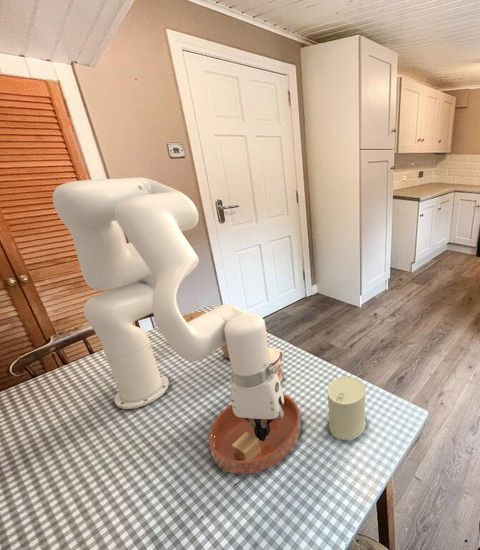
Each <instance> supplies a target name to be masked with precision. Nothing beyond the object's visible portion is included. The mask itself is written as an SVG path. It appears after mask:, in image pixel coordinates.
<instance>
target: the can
mask: <svg viewBox="0 0 480 550" xmlns="http://www.w3.org/2000/svg"><path fill="white" fill-rule="evenodd" d="M366 392H367V391H366V386H365V384H364V382H363V381H362V380H361V379H358V378H356V377H353V376H342V377H339V378H336V379H334V380H333V381H332V382H331V383H329V385H328V386H327V390H326V393H327V402H328V403H327V404H328V405H327V406H328V423H329V424H328V427H329V431H330V433H331V434H332V436H333V437H335V438H336V439H339V440H343V441H350V440H354V439H356V438H358V437H359V436H361V435H362V434H363V432H364V431H365V429H366V425H367V423H366Z"/></svg>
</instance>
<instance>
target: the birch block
mask: <svg viewBox="0 0 480 550" xmlns="http://www.w3.org/2000/svg"><path fill="white" fill-rule="evenodd" d="M232 448H233V453H234V457H235V458H236V459H237V460H251V459H254V458H255V457H256V456H257V455H258V454H259V453H260V452H261V449H260V443H259V439H258V438H256V437H255V436H253V435H251V434H250V433H248V432H245V433H244V434H243V435H242V436H241V437H240V438H239V439H238V440H237V441H236V442H235V443H233V444H232Z"/></svg>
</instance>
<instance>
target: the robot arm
mask: <svg viewBox="0 0 480 550" xmlns="http://www.w3.org/2000/svg"><path fill="white" fill-rule="evenodd" d="M52 204H53V207H54V210H55V212H56V215H57V216H58V217H59V219H60V221H61V222H62V223H63V224H64V226H65V228H66V229H67V230H68V232H69V233H70V236H71V239H72V240H73V245H74V248H75V249H74V250H75V252H76V256H77V260H78V264H79V267H80V271H81V274H82V276H83V280H84V281H85V283H86V284H87V286H88V287H89V288H90V289H92V290H95V291H100V293H98V294H96V295H94V296H92V297H90V298H89V299H88V300H87V301H86V302H85V303H84V305H83V307H82V308H83V309H82V311H83V315H84V317H85V319H86V321H87V323H88V324H89V325H90V327H91V328H92V329H93V331H94V333H95V334H96V336H97V339H98V340H99V343H100V345H101V347H102V350H103V353H104V355H105V358H106V360H107V363H108V366H109V368H110V371H111V374H112V376H113V379H114V382H115V384H116V387H117V390H118V391H117V392H116V394H115V396H114V403H115V405H116V407H118V408H119V409H123V410H133V409H138V408H141V407H144V406H147V405H150V404H151V403H153V402H155V401H157V400H158V399H159V398H161V397H162V396H163V395H164V394H165V393H166V392H167V390H168V389H169V387H170V381H169V378H168V377H167V376H166V375H163V374H160V371H159V367H158V364H157V360H156V357H155V354H154V351H153V347H152V344H151V342H150V338H149V335H148V333H147V331H146V330H144V329H143V328H141V327H139V326H137V325H134V323H135V322H137V321H139V320H140V319H142V318H145V317H147V316H149V315H151V314H153V319H154V322H155V324H156V326H157V328H158V330H159V332H160V333H161V334H162V336H163V338H164V339H165V340H166V342H167V344H169V346H170V347H171V349H172V350H173V351H174V352H175V353H176V354H177V355H178V356H179V357H180V358H182V359H183V360H184V361H187V362H198V361H201V360H203V359H205V358H207V357H209V356H210V355H211V354H213V353H214V352H216V351H217V350H219V349H220V348H222V346H223V345H225V344H226V343H227V348H228V353H229V358H230V359H229V358H228V359H229V363H230V367H231V373H232V377H231V381H230V401H231V404H232V409H233V412H234V414H235V416H236V417H240V418H244V419H245V420H247V421H248V422H249V423H250V425H251V427H253V428H254V433H255V435H256V438H258V439H259V441H260V440H261V441H265V438H266V436H267V435H269V433H270V425H269V423H271V422H272V421H273V420H280V419H282V418H283V415H284V412H283V410H282V408H281V406H283V404H284V397H283V394H284V393H283V387H282V384H281V382H280V381H279V378H278V376H277V371H278V368H277V367H274V366H272V363H271V361H270V355H269V348H268V347H269V342H268V333H267V326H266V321H265V320H264V318H263V317H262V316H261V315H260V314H256V313H250V312H247V311H245V310H243V309H241V308H239V307H238V306H236V305H234V304H230V303H223V304H221V305H218V306H216V307H214V308H212V309H211V310H209V311H207V312H205V313H204V314H203V315H201V316H199V317H197V318H195V319H193V320H191V321H189V322H186V321H185V320H184V318H183V317H182V316H183V315H182V314H181V312H180V309H179V307H178V302H177V294H178V289H179V287H180V285H181V283H182V282H183V281H184V279H186V278H187V277H188V275H189V274H190V273H192V272H193V271H194V270H195V269H196V268H197V266H198V264H199V263H200V262H199V261H200V259H199V256H198V254H197V253H196V252H195V250H194V248H193V246H192V245H191V244H190V243H189V241H188V240H187V238H186V236H185V235H184V234H183V232H185V231H189V230H192V229H194V228H195V227H197V225H198V223H199V218H200V215H199V211H198V209H197V206H196V205H195V203H194V201H192V200H191V198H189V197H188V196H187V195H186V194H185V193H184V192H182V191H179V190H178V189H175V188H173V187H171V186H168V185H166V184H163V183H160V182H159V181H156V180H154V179H150V178H148V177H122V178H121V177H120V178H100V179H99V178H98V179H83V180H74V181H69V182H65V183H62V184H59V185H58V186H57V187H55V189H54V191H53V193H52ZM115 222H117V224H118V225H117V224H116V223H115ZM122 231H123V233H124V234H125V236H126V238H127V239H128V240H129V242H128V243H124V236H123V233H122ZM101 291H102V292H101Z"/></svg>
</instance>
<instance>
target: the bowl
mask: <svg viewBox="0 0 480 550" xmlns="http://www.w3.org/2000/svg"><path fill="white" fill-rule="evenodd" d="M283 397H284V404H283V406H281V408H282V410H283V412H284V415H283V418H282V419H280V420H273V421H272V422H271V423H269V425H270V433H269V435H267V436H266V438H265V441H261V440H260V441H259V443H260V449H261V452H260V453H259V454H258V455H257V456H256V457H255V458H254V459H251V460H237V459H236V458H235V457H234V453H233V448H232V444H233V443H235V442H236V441H237V440H238V439H239V438H240V437H241V436H242V435H243V434H244V433H245V432H248V433H250V434H251V435H253V436H255V437H256V435H255V433H254V428H253V427H251V425H250V423H249V422H248V421H247V420H245V419H244V418H240V417H236V416H235V414H234V412H233V409H232V403H231V404H229V405H228V406H227V407H225V409H223V410H222V411H221V412H220V413H219V414H218V416H217V417H216V418H215V420H214V421H213V423H212V425H211V427H210V430H209V434H208V443H209V449H210V453H211V455H212V458H213V461H214V463H215V464H216V465H217V466H218V467H219V468H220V469H221V470H223V471H224V472H227V473H231V474H236V475H251V474H255V473H260V472H262V471H265V470H267V469H270V468H271V467H273V466H275V465H277V464H278V463H279V462H281V461H282V460H283V459H284V458H285V457H287V455H288V454H289V453H290V452H291V451H292V450H293V449H294V447H295V445H296V444H297V442H298V441H299V440H298V439H299V437H300V435H301V434H300V433H301V428H302V425H301V414H300V409H299V407H298V404H297V403H296V401H295V400H294V399H293V398H291V397H290V396H288V395H287V394H284V393H283Z"/></svg>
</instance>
